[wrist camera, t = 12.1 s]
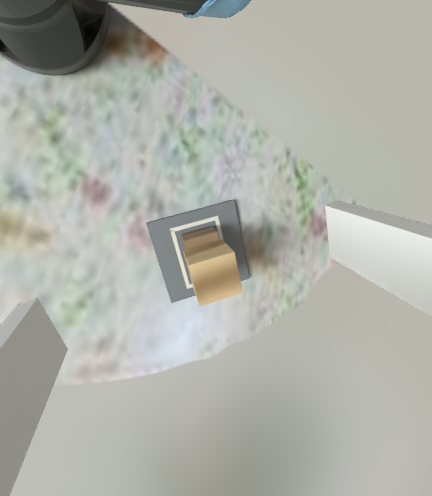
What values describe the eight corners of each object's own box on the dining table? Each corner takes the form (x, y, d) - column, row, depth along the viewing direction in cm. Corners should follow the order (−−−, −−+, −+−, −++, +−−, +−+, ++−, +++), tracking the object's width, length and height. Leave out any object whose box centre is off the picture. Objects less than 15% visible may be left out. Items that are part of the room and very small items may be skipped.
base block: (180, 234, 43) (183, 241, 39) (211, 225, 44) (217, 231, 40) (193, 279, 45) (197, 289, 42) (221, 270, 46) (228, 279, 43)
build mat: (146, 222, 42) (146, 223, 41) (233, 199, 44) (234, 200, 43) (171, 301, 46) (171, 303, 46) (248, 276, 48) (249, 278, 48)
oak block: (182, 250, 39) (188, 265, 34) (222, 239, 40) (234, 251, 35) (192, 286, 41) (200, 306, 36) (230, 275, 42) (242, 292, 37)
